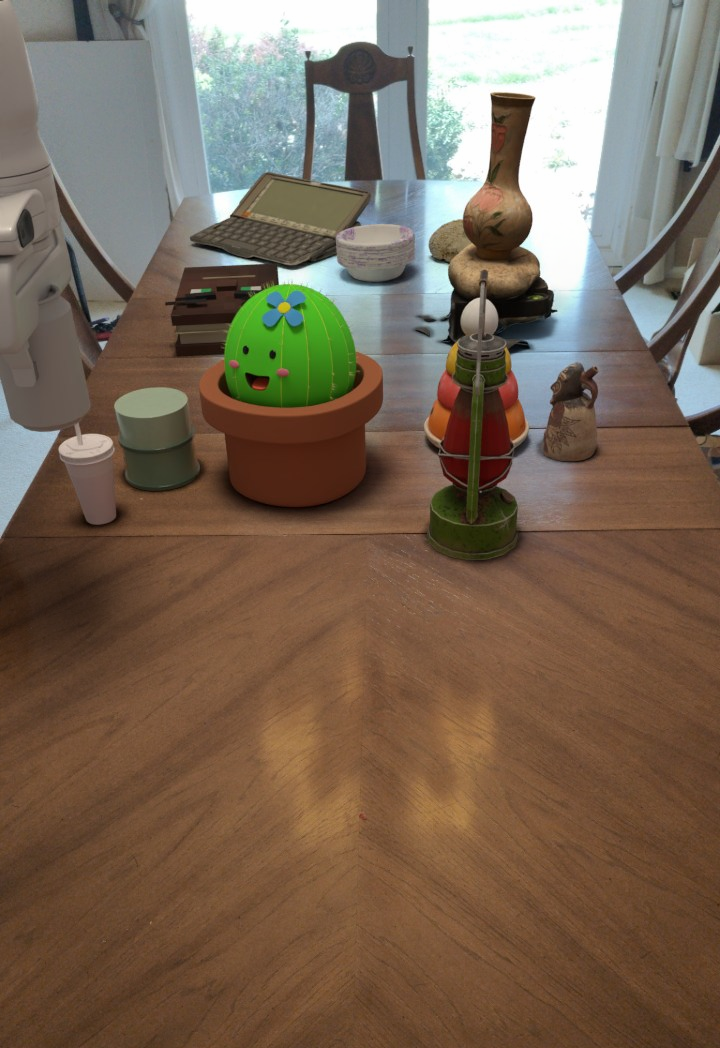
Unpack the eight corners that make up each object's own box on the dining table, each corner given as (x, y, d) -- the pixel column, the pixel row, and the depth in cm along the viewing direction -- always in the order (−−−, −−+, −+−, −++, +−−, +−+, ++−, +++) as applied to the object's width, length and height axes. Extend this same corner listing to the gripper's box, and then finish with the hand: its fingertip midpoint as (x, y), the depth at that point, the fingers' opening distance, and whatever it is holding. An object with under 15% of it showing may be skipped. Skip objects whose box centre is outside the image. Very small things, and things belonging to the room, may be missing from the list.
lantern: (517, 570, 109) (539, 299, 90) (421, 565, 110) (424, 297, 92) (519, 507, 120) (539, 254, 101) (432, 503, 121) (436, 252, 103)
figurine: (556, 433, 135) (564, 349, 128) (604, 446, 132) (615, 359, 125) (532, 453, 131) (539, 367, 124) (581, 467, 127) (591, 379, 120)
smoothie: (85, 502, 124) (62, 398, 115) (134, 505, 123) (114, 400, 114) (66, 529, 119) (40, 421, 110) (117, 531, 118) (95, 423, 109)
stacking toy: (451, 410, 142) (455, 273, 131) (543, 429, 137) (556, 287, 125) (405, 450, 133) (405, 306, 121) (502, 472, 127) (512, 323, 115)
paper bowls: (334, 266, 198) (332, 224, 193) (408, 261, 199) (408, 220, 194) (341, 290, 186) (339, 246, 181) (420, 285, 187) (420, 241, 182)
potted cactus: (268, 427, 140) (251, 245, 124) (409, 455, 132) (410, 264, 116) (180, 497, 124) (149, 299, 109) (334, 534, 116) (324, 325, 101)
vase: (586, 330, 166) (612, 96, 144) (484, 362, 156) (497, 116, 135) (495, 295, 181) (506, 79, 160) (397, 321, 172) (396, 96, 150)
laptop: (269, 219, 228) (265, 170, 222) (375, 241, 211) (374, 189, 205) (187, 245, 213) (180, 193, 206) (294, 271, 196) (290, 216, 190)
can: (108, 416, 93) (83, 289, 86) (39, 443, 89) (7, 312, 82) (64, 395, 98) (37, 272, 90) (-4, 420, 93) (-38, 292, 86)
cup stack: (119, 492, 126) (104, 420, 120) (132, 457, 134) (119, 387, 127) (195, 490, 126) (184, 417, 120) (204, 454, 133) (194, 385, 127)
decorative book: (283, 254, 180) (282, 310, 156) (286, 295, 184) (285, 356, 161) (178, 259, 179) (160, 315, 156) (184, 300, 184) (167, 361, 160)
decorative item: (441, 250, 191) (424, 216, 195) (439, 285, 199) (423, 251, 203) (499, 235, 192) (481, 202, 197) (495, 271, 200) (478, 238, 204)
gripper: (2, 176, 90) (35, 325, 98) (-77, 240, 74) (-28, 412, 82) (70, 174, 90) (98, 324, 98) (7, 238, 74) (47, 411, 82)
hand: (40, 365), depth 90 cm, fingers closed on can, 7 cm apart
